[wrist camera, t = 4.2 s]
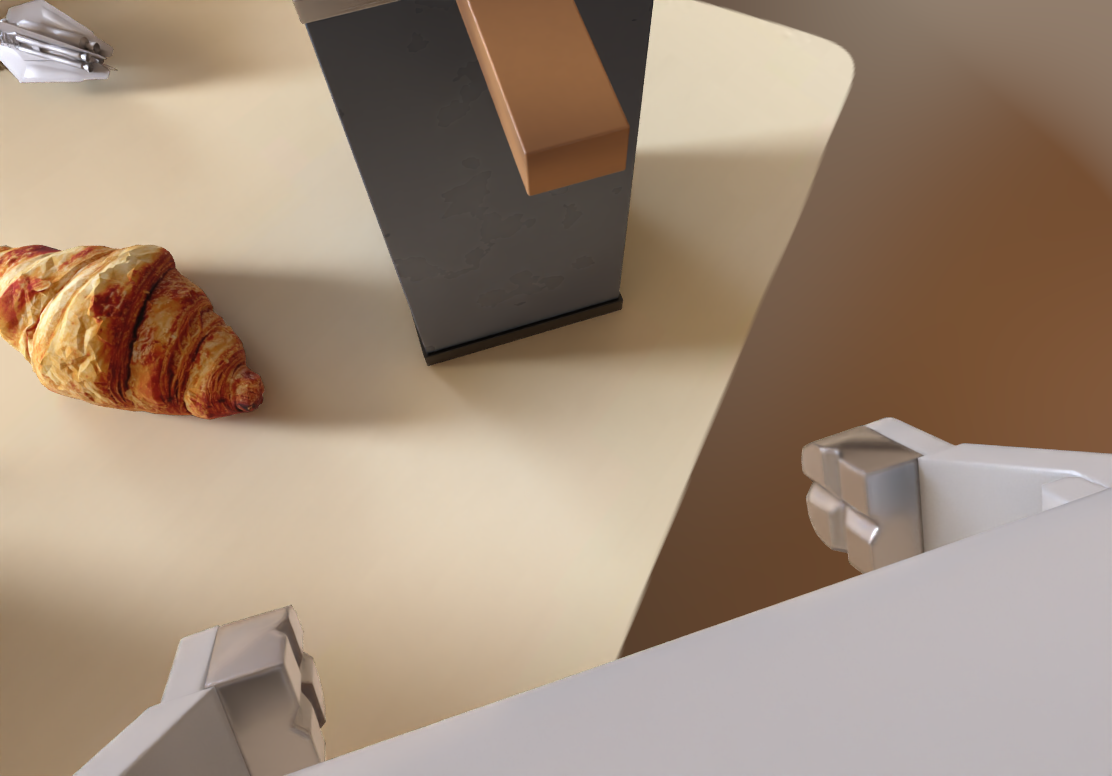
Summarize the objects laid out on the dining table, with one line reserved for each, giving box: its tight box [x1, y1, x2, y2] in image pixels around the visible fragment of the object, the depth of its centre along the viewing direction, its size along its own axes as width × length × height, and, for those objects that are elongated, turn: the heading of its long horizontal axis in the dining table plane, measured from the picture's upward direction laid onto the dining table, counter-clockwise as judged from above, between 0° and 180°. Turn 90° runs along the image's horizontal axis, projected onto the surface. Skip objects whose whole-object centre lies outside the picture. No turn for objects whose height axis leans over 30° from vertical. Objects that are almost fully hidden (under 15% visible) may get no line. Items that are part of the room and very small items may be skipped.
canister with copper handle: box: [292, 0, 653, 366], centre depth 41 cm, size 14×12×27 cm
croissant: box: [0, 245, 265, 420], centre depth 48 cm, size 21×10×8 cm, turn 64°
